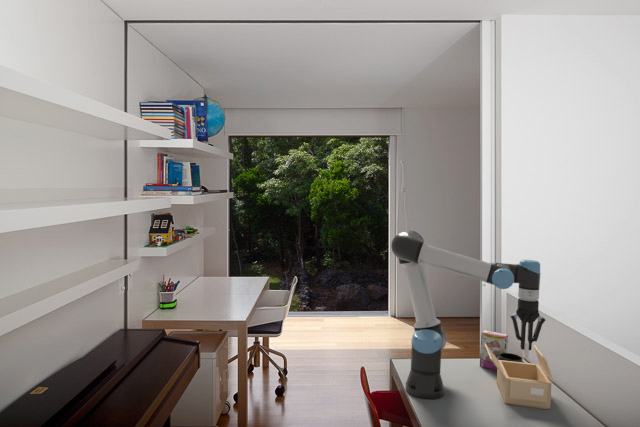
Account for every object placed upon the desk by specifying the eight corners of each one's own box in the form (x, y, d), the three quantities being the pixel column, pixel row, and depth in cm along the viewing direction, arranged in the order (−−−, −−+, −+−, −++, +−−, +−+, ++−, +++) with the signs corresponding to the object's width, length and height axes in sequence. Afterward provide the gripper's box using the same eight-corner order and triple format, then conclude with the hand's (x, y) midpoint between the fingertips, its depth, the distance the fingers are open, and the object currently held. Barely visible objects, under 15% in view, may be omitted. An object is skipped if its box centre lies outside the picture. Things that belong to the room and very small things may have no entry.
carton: (505, 404, 171) (506, 378, 171) (496, 382, 192) (497, 359, 192) (550, 410, 168) (552, 384, 167) (536, 387, 189) (538, 363, 188)
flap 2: (539, 363, 187) (540, 363, 187) (552, 381, 169) (553, 381, 168) (533, 345, 187) (534, 344, 187) (545, 361, 169) (546, 360, 169)
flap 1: (504, 376, 172) (503, 376, 172) (497, 359, 191) (496, 359, 191) (491, 358, 173) (490, 359, 173) (485, 343, 192) (484, 344, 192)
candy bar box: (479, 366, 210) (481, 332, 209) (481, 363, 214) (483, 329, 213) (504, 372, 204) (506, 336, 203) (506, 369, 208) (508, 334, 207)
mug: (531, 380, 196) (532, 359, 196) (507, 381, 194) (508, 361, 193) (517, 371, 205) (518, 352, 205) (493, 373, 203) (494, 353, 202)
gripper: (512, 299, 176) (509, 358, 177) (548, 302, 173) (545, 362, 174) (509, 295, 184) (506, 352, 184) (543, 298, 181) (540, 356, 181)
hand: (525, 357), depth 179 cm, fingers closed
